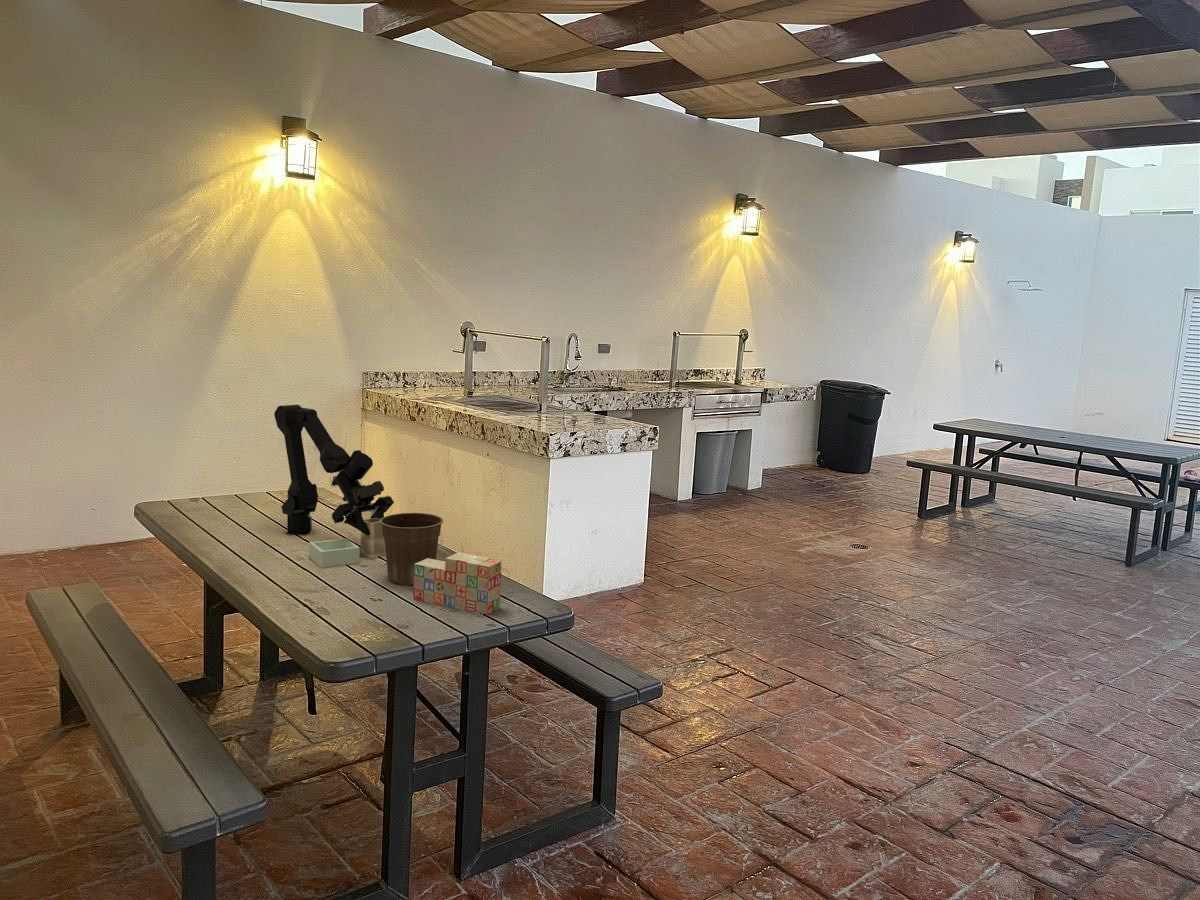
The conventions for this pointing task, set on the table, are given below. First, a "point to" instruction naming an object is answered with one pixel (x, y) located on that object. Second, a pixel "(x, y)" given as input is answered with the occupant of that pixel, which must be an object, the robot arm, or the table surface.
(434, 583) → the stack of blocks
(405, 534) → the plant pot
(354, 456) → the robot arm
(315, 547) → the sage crate
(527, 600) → the table surface
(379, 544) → the pine crate
